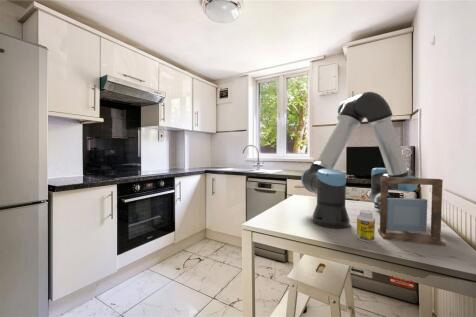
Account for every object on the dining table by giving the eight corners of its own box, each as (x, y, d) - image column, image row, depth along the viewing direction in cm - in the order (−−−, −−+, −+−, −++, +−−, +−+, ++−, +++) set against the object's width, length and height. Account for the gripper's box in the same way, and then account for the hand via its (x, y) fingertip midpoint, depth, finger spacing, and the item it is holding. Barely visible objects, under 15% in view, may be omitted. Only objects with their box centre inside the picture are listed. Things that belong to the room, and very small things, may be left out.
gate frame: (382, 238, 78) (384, 178, 77) (377, 230, 85) (378, 175, 84) (445, 246, 71) (447, 180, 70) (433, 237, 79) (435, 177, 78)
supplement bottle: (358, 241, 75) (359, 213, 75) (355, 235, 81) (355, 208, 80) (376, 243, 74) (377, 214, 73) (371, 237, 79) (372, 210, 78)
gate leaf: (387, 230, 80) (388, 198, 80) (385, 229, 82) (386, 198, 81) (426, 232, 78) (427, 199, 78) (423, 230, 80) (424, 198, 79)
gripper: (403, 211, 101) (428, 228, 78) (368, 208, 105) (383, 225, 83) (403, 195, 100) (428, 208, 78) (368, 193, 105) (383, 206, 83)
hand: (405, 217), depth 81 cm, fingers closed
